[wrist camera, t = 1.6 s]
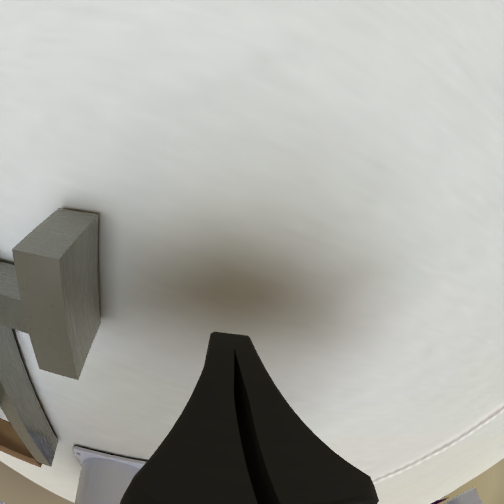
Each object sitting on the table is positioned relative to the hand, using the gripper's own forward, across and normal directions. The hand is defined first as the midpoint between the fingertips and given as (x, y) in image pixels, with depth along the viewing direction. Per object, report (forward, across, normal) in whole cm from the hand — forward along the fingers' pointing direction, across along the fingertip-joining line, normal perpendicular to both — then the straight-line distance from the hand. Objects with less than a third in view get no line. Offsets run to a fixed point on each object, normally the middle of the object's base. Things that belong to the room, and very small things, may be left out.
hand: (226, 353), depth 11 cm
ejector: (+4, +10, +9) cm, 14 cm away
